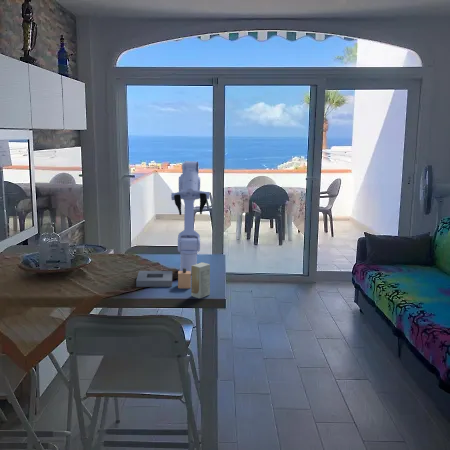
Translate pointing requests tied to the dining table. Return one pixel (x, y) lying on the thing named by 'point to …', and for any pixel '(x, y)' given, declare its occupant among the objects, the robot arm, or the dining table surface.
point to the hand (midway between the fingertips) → (190, 213)
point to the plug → (184, 279)
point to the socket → (154, 279)
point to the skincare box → (200, 280)
